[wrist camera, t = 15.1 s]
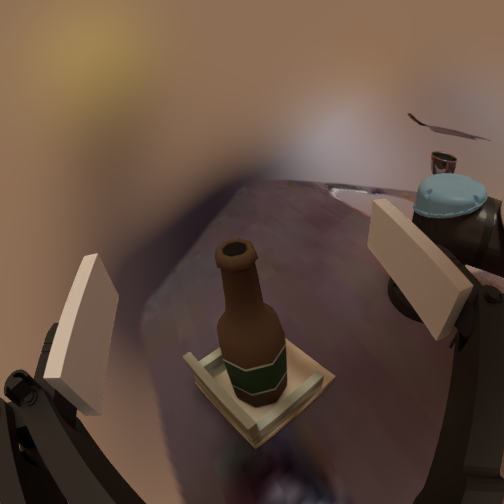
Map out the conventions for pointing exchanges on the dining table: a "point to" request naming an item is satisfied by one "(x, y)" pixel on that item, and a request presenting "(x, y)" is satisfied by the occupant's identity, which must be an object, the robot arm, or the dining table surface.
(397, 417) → the dining table surface
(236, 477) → the dining table surface
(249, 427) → the wooden display stand
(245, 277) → the beer bottle
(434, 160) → the wine glass
